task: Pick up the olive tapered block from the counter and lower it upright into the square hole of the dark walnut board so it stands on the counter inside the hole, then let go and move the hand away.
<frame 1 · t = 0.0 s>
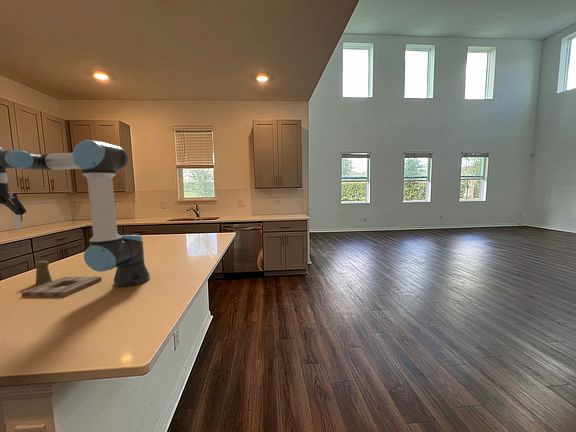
hand: (2, 230, 118), 28 cm above the counter, tool pointing down, fingers open, 13 cm apart
walnut board: (64, 288, 123), on the counter
olive tapered block: (44, 283, 132), on the counter
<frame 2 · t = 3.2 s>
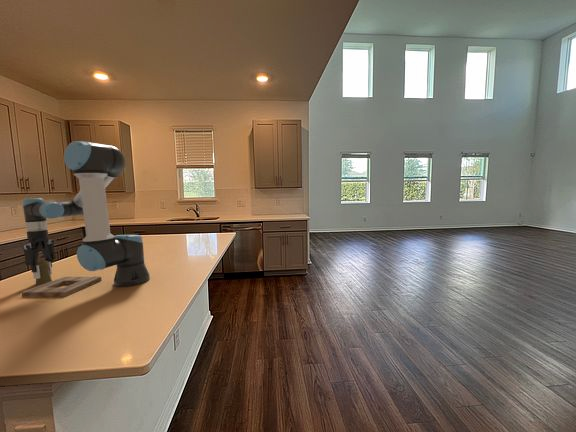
hand: (43, 276, 131), 3 cm above the counter, tool pointing down, fingers closed on olive tapered block, 5 cm apart
olive tapered block: (44, 283, 132), on the counter, touching gripper
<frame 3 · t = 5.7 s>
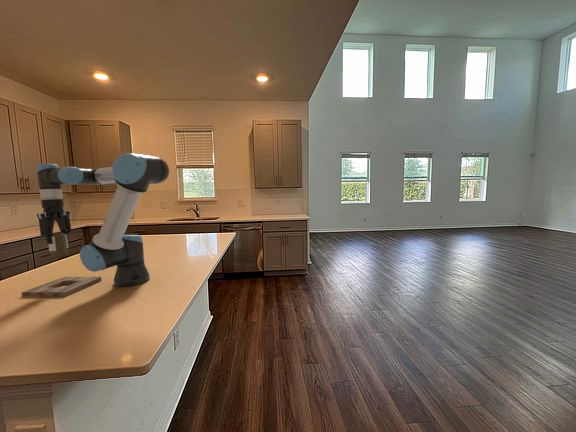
hand: (59, 249, 122), 18 cm above the counter, tool pointing down, fingers closed on olive tapered block, 5 cm apart
olive tapered block: (60, 256, 122), point 15 cm above the counter, touching gripper
when the fingers open (5 cm above the counter, at t = 8.3 s): olive tapered block drops 1 cm, resting in walnut board.
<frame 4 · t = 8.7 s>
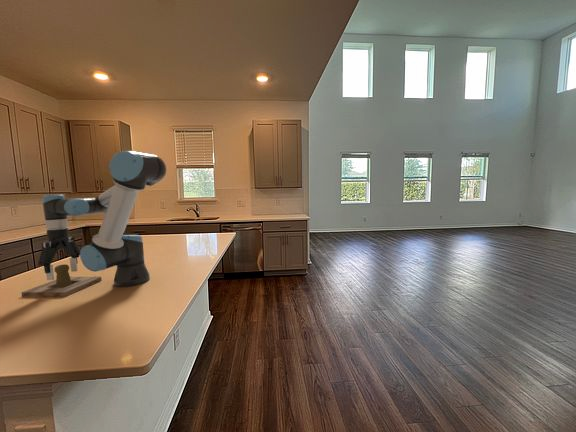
hand: (63, 275, 122), 6 cm above the counter, tool pointing down, fingers open, 11 cm apart
olive tapered block: (64, 288, 123), resting in walnut board
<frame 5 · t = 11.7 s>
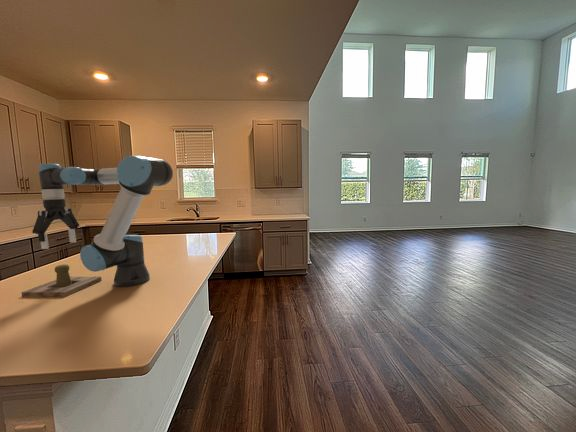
hand: (60, 245, 121), 20 cm above the counter, tool pointing down, fingers open, 13 cm apart
nothing on the counter moved.
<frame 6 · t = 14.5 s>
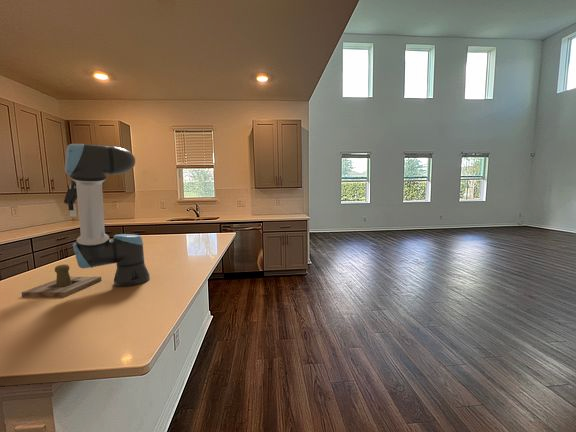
hand: (84, 215, 144), 32 cm above the counter, tool pointing down, fingers open, 13 cm apart
nothing on the counter moved.
at the end: olive tapered block 0.1 cm off-centre on the walnut board, point 0.0 cm above the walnut board's base; olive tapered block tilted 0°; the gripper is holding nothing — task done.
